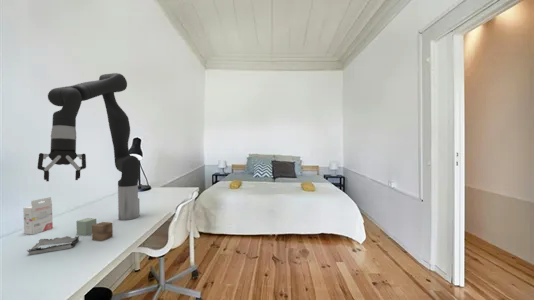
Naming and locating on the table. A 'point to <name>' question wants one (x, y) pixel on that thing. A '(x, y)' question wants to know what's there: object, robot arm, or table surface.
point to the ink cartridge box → (38, 216)
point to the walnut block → (102, 231)
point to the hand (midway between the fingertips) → (62, 180)
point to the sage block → (85, 226)
